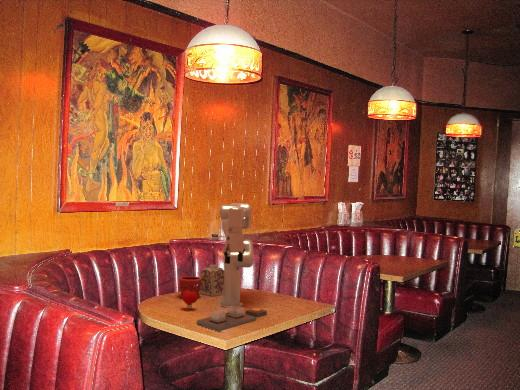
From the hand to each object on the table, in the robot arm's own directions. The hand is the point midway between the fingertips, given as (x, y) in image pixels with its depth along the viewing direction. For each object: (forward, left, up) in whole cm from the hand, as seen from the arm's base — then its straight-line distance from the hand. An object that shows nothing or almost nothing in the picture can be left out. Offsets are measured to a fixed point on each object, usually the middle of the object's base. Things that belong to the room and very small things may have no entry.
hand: (233, 262), depth 271 cm
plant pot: (-44, +9, -29) cm, 53 cm away
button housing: (+10, +8, -28) cm, 31 cm away
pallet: (+9, -13, -28) cm, 32 cm away
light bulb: (-24, -9, -28) cm, 38 cm away
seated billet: (+9, -6, -27) cm, 29 cm away
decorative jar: (-42, +26, -29) cm, 57 cm away
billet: (+9, -19, -27) cm, 35 cm away
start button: (+10, +8, -27) cm, 30 cm away
